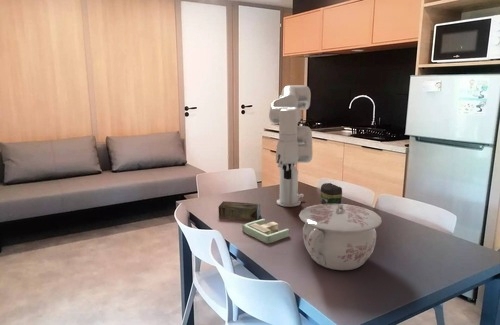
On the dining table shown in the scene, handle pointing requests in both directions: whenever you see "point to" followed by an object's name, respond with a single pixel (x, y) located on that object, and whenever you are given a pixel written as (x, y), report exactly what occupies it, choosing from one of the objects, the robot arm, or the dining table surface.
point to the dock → (263, 236)
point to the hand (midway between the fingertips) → (287, 178)
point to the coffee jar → (330, 194)
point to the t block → (266, 227)
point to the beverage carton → (239, 210)
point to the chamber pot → (339, 234)
